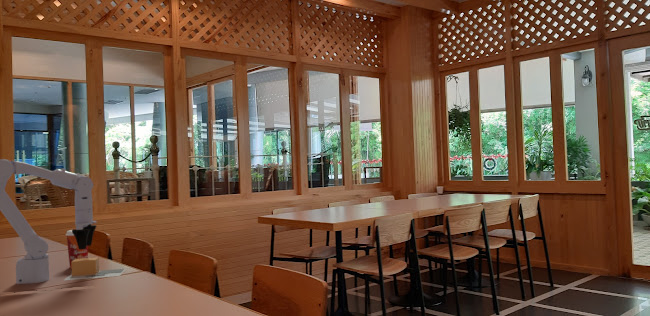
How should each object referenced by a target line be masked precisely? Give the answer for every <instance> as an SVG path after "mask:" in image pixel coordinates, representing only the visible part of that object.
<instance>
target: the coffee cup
mask: <svg viewBox="0 0 650 316" xmlns="http://www.w3.org/2000/svg"><path fill="white" fill-rule="evenodd" d="M72 230H73V229H70V230H67V231H66V233H65V236H66V240H67V241H66V242H67V253H68V262H69V268H70V269H72V265H71V262H72V261H73V260H75V259H84V258H89V246H86V249H79V248H78V244H77V241H76V238H75V236H74V234H73V233H72Z"/></svg>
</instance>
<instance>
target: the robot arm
mask: <svg viewBox="0 0 650 316" xmlns="http://www.w3.org/2000/svg"><path fill="white" fill-rule="evenodd" d="M24 174H25V175H30V176H33V177H38V178H42V179H45V180H48V181H50V183H51V185H53V186H56V187H60V188H64V189H67V190H68V189H69V190H74V215H75V216H74V219H75V220H74V225H75V229H71V230H72V233H73V234H74V236H75V238H76V241H77V244H78V248H79V249H86V246H88V247H90V246H92V244H93V239H94V233H95V231H96V229H97V225H96V223H98V222H97V220H94V215H93V213H94V212H93V211H94V210H93V195H92V193H93V192H92V190H93V188H94V183H93V182H94V181H93V179H91V178H90V177H89V176H85V175H81V173H79V172H77V173H74V172H70V171H67V169H65V168H61V169H59V168H57V169H55V170H50V169H47V168H43V167H40V166H36V165H33V164H29V163H27V162H23V161H17V160H9V159H5V158H1V159H0V212H1V213H2V214H3V216H4V217H5V219H6V220H7V222H8V223H9V224H10V225H11V228H13V230H14V231H15V232H16V233H17V235H18V237H19V238H20V239H21V241H22V243H23V244H24V250H25V251H26V252H27V253H26V254H25V256H24V258H19V259H17V261H16V264H15V277H16V278H15V281H16V285H21V284H37V283H38V284H39V283H43V282H44V283H45V282H47V281H50V262H49V254H48V253H47V252H48V251H49V244H48V242H47V241H46V240H44V239H43V238H42V237H41V236H39V235H38V234H37V233H36V231H35V230H34V229H33V227H32V226H31V225H30V223H29V222H28V221H27V219H26V218H25V217H24V215H23V213H21V210H19V207H17V206H16V204H15V203H14V202H13V200H12V198H11V197H10V196H9V194H8V193H7V191H6V190H5V189H6V187H7V184H8V181H9V179H10V178H11V177H12V175H14V176H17V175H24ZM93 224H95V225H93Z"/></svg>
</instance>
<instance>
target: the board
mask: <svg viewBox="0 0 650 316" xmlns="http://www.w3.org/2000/svg"><path fill="white" fill-rule="evenodd" d="M125 271H126V268H117V269H104V270H103V269H102V270H99V272H98V273H97V274H91V275H77V276H72V273H71V274H69V275H68V276H67V277H65V278H64V279H63V281H72V280H74V281H75V280H87V279H99V278H111V277H112V278H114V277H121V275H122V274H123V273H124V272H125Z"/></svg>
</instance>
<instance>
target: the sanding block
mask: <svg viewBox="0 0 650 316" xmlns="http://www.w3.org/2000/svg"><path fill="white" fill-rule="evenodd" d="M71 265H72V268H71V274H72V276H77V275H91V274H97V273H98V272H99V271H100V257H88V258H84V259H75V260H73V261H72V262H71Z"/></svg>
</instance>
